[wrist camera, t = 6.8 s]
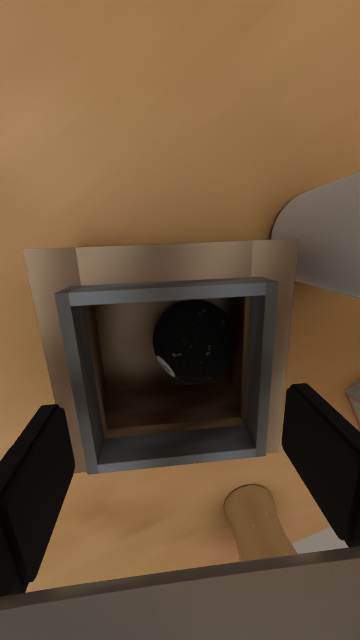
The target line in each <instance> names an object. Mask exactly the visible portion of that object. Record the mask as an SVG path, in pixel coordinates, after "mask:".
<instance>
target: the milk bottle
mask: <svg viewBox="0 0 360 640" xmlns="http://www.w3.org/2000/svg"><path fill="white" fill-rule="evenodd" d="M279 239H299V241H298V252H297V262H296V273H295V281H297V282H300V283H304V284H307V285H311V286H315V287H319V288H322V289H326V290H330V291H334V292H338V293H341V294H345V295H349V296H353V297H357V298H360V172H358V173H355V174H353V175H350V176H347V177H344V178H341V179H339V180H336V181H333V182H330V183H327V184H325V185H322V186H319V187H316V188H314V189H311V190H309V191H306V192H304V193H302V194H300V195H298V196H296V197H295V198H294V199H292V200H291V201H290V202H289V203H288V204H287V205H286V206H285V207H284V208H283V210H282V211H281V212H280V214H279V216H278V217H277V219H276V222H275V224H274V227H273V230H272V235H271V240H279Z"/></svg>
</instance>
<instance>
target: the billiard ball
mask: <svg viewBox="0 0 360 640" xmlns="http://www.w3.org/2000/svg"><path fill="white" fill-rule="evenodd" d="M153 349H154V352H155V355H156V357H157V359H158V361H159V363H160V364H161V366H162V367H163V368H164V369H165V370H166V371H167V372H168V373H169V374H170V375H171V376H173V377H174V378H176V379H178V380H180V381H183V382H186V383H193V384H198V383H204V382H208V381H210V380H213V379H215V378H216V377H218V376H219V375H221V374H222V373H223V372H224V371H225V370H226V369H227V368H228V366H229V365H230V363H231V361H232V359H233V357H234V354H235V351H236V333H235V329H234V326H233V324H232V322H231V320H230V319H229V317H228V316H227V315H226V314H225V313H224V312H223V311H222V310H221V309H220V308H219V307H217V306H216V305H214V304H212V303H210V302H207V301H204V300H186V301H183V302H180V303H177V304H175V305H173V306H172V307H170V308H169V309H168V310H166V311H165V312H164V313H163V314H162V316H161V317H160V318H159V320H158V322H157V323H156V326H155V328H154V332H153Z"/></svg>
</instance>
